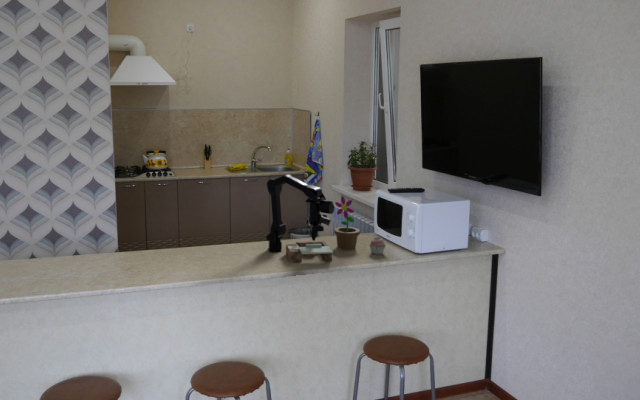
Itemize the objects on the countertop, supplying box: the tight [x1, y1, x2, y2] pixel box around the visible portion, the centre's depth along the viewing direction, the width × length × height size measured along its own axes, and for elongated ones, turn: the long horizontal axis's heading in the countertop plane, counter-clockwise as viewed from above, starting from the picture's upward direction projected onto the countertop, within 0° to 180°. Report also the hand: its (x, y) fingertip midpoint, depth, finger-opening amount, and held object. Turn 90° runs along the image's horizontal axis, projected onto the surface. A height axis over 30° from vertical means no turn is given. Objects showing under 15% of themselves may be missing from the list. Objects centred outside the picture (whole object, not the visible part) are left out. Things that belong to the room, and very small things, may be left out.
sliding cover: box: [298, 244, 334, 255], centre depth 301 cm, size 16×10×2 cm, turn 103°
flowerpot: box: [333, 195, 361, 251], centre depth 327 cm, size 14×14×30 cm
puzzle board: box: [285, 240, 333, 263], centre depth 311 cm, size 22×18×6 cm
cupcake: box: [368, 235, 387, 256], centre depth 320 cm, size 9×9×10 cm
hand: (313, 240), depth 306 cm, fingers closed
